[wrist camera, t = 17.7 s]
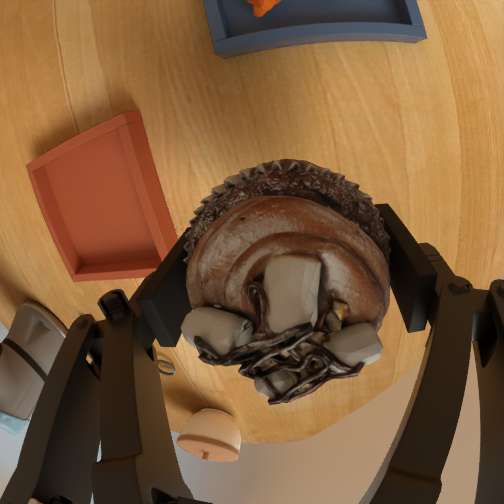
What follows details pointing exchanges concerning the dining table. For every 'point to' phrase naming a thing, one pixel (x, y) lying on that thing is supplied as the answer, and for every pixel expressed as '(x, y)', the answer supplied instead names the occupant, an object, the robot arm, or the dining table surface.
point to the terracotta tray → (105, 202)
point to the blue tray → (310, 23)
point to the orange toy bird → (262, 6)
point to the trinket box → (211, 436)
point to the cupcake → (287, 277)
